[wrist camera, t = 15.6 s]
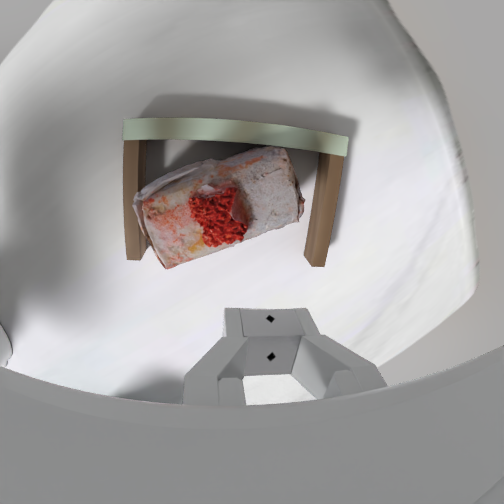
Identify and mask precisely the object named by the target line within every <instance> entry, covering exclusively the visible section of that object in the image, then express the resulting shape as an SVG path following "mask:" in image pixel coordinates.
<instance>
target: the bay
mask: <svg viewBox="0 0 504 504" xmlns="http://www.w3.org/2000/svg"><path fill="white" fill-rule="evenodd" d="M149 139H180V140H210V141H228V142H241V143H253V144H263V145H272V146H281V147H289V148H296V149H303V150H310V151H316V152H320V153H319V161H318V168H317V176H316V183H315V190H314V196H313V203H312V209H311V216H310V222H309V228H308V234H307V240H306V245H305V251H304V256H305V258H306V259H307V261H308V262H309V263H310V265H311V266H312V267H324V266H325V262H326V257H327V252H328V247H329V243H330V238H331V232H332V227H333V222H334V217H335V211H336V205H337V200H338V194H339V188H340V181H341V175H342V168H343V161H344V156H345V157H346V156H347V148H348V140H349V137H346V136H341V135H337V134H332V133H327V132H321V131H316V130H310V129H304V128H298V127H292V126H285V125H277V124H269V123H261V122H251V121H240V120H227V119H211V118H133V119H124V121H123V137H122V140H124V153H123V206H124V228H125V243H126V255H127V260H141V258H142V257H143V255H144V253H145V251H146V249H147V246H146V238H145V236H144V234H143V232H142V230H141V228H140V225H139V222H138V217H137V215H136V213H135V210H134V208H133V206H132V205H133V203H134V200H133V199H134V196H135V194H136V193H137V192H141V190H142V189H143V188H144V187H145V171H146V145H147V140H149Z"/></svg>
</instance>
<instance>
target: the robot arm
mask: <svg viewBox="0 0 504 504" xmlns="http://www.w3.org/2000/svg"><path fill="white" fill-rule="evenodd" d="M11 356H12V348H11V344H10V342H9V339H8V337H7V335H6V333H5V331H4V330H3V328H2V326H1V325H0V504H504V345H503V346H501V347H499V348H497V349H495V350H493V351H490V352H488V353H486V354H484V355H481V356H479V357H477V358H474V359H472V360H469V361H467V362H464V363H462V364H459V365H456V366H453V367H451V368H448V369H445V370H442V371H439V372H436V373H433V374H430V375H427V376H424V377H420V378H417V379H414V380H411V381H407V382H403V383H399V384H396V385H392V386H387V384H386V382H385V381H384V379H383V377H382V376H381V374H380V372H379V371H378V369H377V367H376V366H375V364H373V363H371V362H369V361H368V360H366V359H364V358H363V357H361V356H359V355H358V354H356V353H354V352H352V351H351V350H349V349H347V348H346V347H344V346H342V345H341V344H339V343H337V342H336V341H334V340H332V339H331V338H329V337H327V336H326V335H320V333H319V331H318V329H317V327H316V325H315V323H314V321H313V319H312V317H311V315H310V313H309V311H308V309H306V308H294V309H250V308H225V309H224V320H223V337H222V338H221V339H220V340H219V341H218V342H217V343H216V344H215V345H214V346H213V347H212V348H211V349H210V350H209V351H208V352H207V353H206V354H205V355H204V356H203V357H202V358H201V359H200V360H199V361H198V362H197V363H196V364H195V365H194V367H193V368H192V369H191V370H190V371H189V372H188V373H187V374H186V375H185V377H184V390H183V404H168V403H157V402H148V401H139V400H132V399H125V398H118V397H112V396H106V395H101V394H95V393H90V392H86V391H81V390H77V389H72V388H68V387H64V386H60V385H57V384H53V383H49V382H46V381H43V380H39V379H36V378H33V377H30V376H27V375H24V374H21V373H18V372H15V371H12V370H9V369H7V368H5V367H6V366H7V361H8V360H9V359H10V358H11ZM278 374H291V376H292V377H294V378H295V379H296V380H297V381H298V382H299V383H300V384H301V385H302V386H303V387H304V388H305V389H306V390H307V391H308V392H309V393H311V394H312V395H313V396H314V397H315V398H316V399H317V400H310V401H301V402H291V403H280V404H265V405H246V400H245V394H244V387H243V381H242V379H243V378H244V376H255V375H278Z"/></svg>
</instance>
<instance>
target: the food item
mask: <svg viewBox="0 0 504 504" xmlns="http://www.w3.org/2000/svg"><path fill="white" fill-rule="evenodd" d="M133 200H134V203H133V205H132V206H133V208H134V210H135V213H136V215H137V217H138V222H139V225H140V228H141V230H142V232H143V234H144V236H145V238H146V239H147V240H148V242H149V243H150V245H151V246H152V249H153V251H154V253H155V255H156V257H157V259H158V260H159V262H160V263H161V264H162V265H163V266H164V268H165V269H170V268H173V267H175V266H177V265H179V264H182V263H185V262H188V261H191V260H194V259H197V258H200V257H203V256H206V255H209V254H212V253H215V252H217V251H220V250H223V249H225V248H228V247H233V246H234V245H235V244H237V243H241V242H243V241H244V240H247V239H251V238H254V237H257V236H259V235H261V234H263V233H266V232H267V231H270V230H273V229H279V228H283V227H284V226H285V225H287V224H290V223H294V222H299V218H300V217H301V216H302V215H303V212H304V202H305V199H304V198H303V197H302V193H301V191H300V187H299V183H298V179H297V176H296V173H295V170H294V167H293V165H292V162H291V160H290V157H289V154H288V152H287V151H286V150H285V149H281V148H280V147H273V146H271V145H267V146H266V147H257V148H252V149H250V150H248V151H245V152H242V153H239V154H236V155H233V156H231V157H229V158H227V159H224V160H220V161H217V160H214V159H212V158H211V159H208V160H204V161H197V162H195V163H194V164H189V165H186V166H183V167H181V168H179V169H177V170H174V171H172V172H170V173H168V174H166V175H164V176H162V177H160V178H158V179H156V180H154V181H153V182H152V183H150V184H148V185H147V186H145V187H144V188H143V189H142V190H141V192H137V193H136V194H135V196H134V199H133Z"/></svg>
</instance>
